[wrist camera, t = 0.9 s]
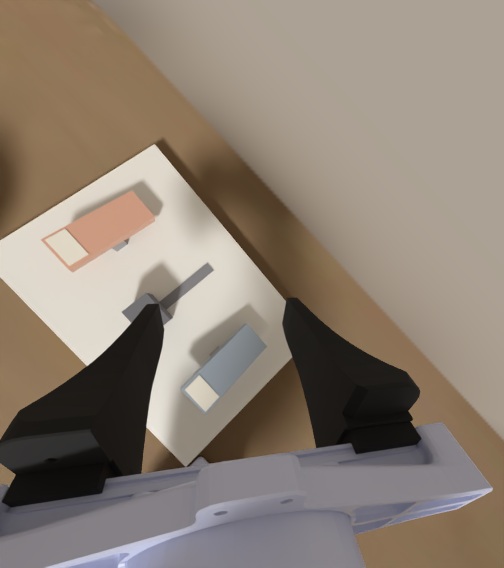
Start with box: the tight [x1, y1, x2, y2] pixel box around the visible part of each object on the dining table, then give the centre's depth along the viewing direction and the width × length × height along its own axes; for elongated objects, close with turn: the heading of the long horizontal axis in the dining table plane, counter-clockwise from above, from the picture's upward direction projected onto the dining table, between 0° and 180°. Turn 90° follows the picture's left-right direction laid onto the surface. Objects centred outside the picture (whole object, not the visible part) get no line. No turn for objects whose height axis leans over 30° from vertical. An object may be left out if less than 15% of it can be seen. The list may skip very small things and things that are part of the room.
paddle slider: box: [122, 293, 173, 326], centre depth 21 cm, size 2×3×3 cm
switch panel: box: [0, 144, 292, 467], centre depth 24 cm, size 18×26×3 cm
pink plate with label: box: [41, 191, 155, 272], centre depth 20 cm, size 8×3×1 cm, turn 131°
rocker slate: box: [180, 324, 267, 415], centre depth 22 cm, size 8×3×1 cm, turn 131°
